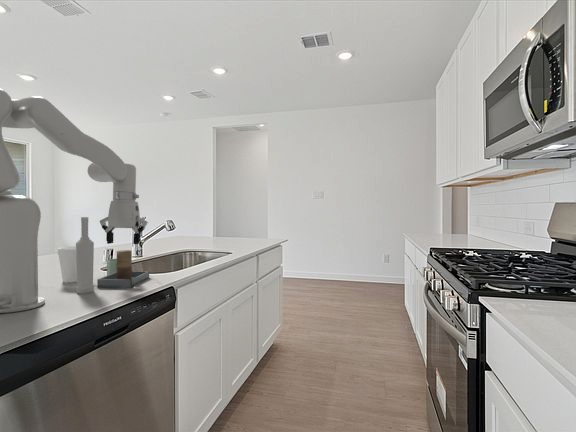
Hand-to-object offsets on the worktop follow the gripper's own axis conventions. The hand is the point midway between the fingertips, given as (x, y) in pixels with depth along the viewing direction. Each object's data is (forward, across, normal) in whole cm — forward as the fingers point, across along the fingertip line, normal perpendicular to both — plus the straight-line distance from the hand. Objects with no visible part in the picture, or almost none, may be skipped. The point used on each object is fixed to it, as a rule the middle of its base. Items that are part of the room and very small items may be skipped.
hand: (123, 243), depth 125 cm
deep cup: (+15, +8, -14) cm, 22 cm away
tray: (+15, 0, -1) cm, 15 cm away
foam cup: (+15, +20, -2) cm, 25 cm away
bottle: (+16, +6, +12) cm, 21 cm away
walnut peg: (+14, 0, -1) cm, 14 cm away
